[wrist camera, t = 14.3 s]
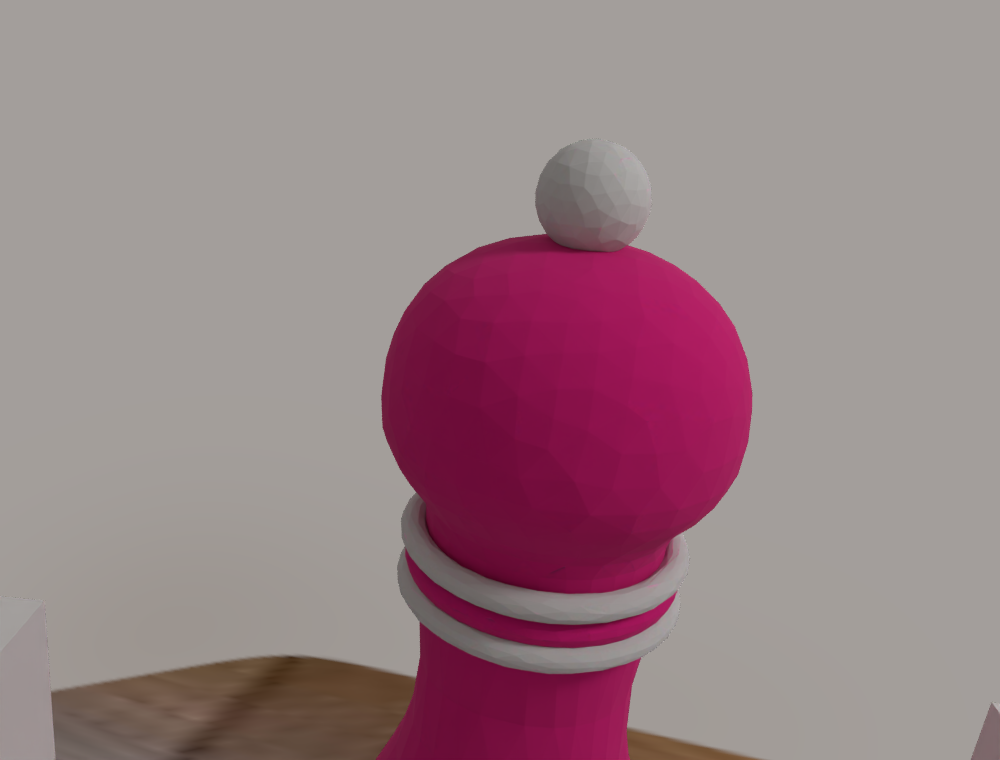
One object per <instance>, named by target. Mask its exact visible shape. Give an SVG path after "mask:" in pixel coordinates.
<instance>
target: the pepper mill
mask: <svg viewBox="0 0 1000 760" xmlns="http://www.w3.org/2000/svg"><path fill="white" fill-rule="evenodd" d="M651 192H652V189H651V185H650V182H649V178H648V175H647V172H646V171H645V169H644V167H643V166H642V164H641V163H640V161H639V159H638V158H637V157H636V156H635V155H634V154H633V153H632V152H631V151H629V150H628V149H626V148H625V147H623V146H622V145H619V144H617V143H614V142H611V141H606V140H602V139H587V140H581V141H578V142H575V143H573V144H570V145H569V146H566V147H565V148H563V149H561V150H560V151H559V152H558V153H557V154H556V155H555V156H554V157H553V158H552V159H550V160H549V162H548V163H547V165H546V166H545V168H544V170H543V171H542V173H541V175H540V178H539V182H538V185H537V189H536V201H535V203H536V209H537V214H538V218H539V221H540V223H541V225H542V226H543V228H544V230H545V232H546V234H542V235H533V236H524V237H515V238H509V239H505V240H502V241H499V242H495V243H492V244H488V245H485V246H482V247H479V248H477V249H475V250H473V251H471V252H470V253H468V254H466V255H464V256H462V257H461V258H459V259H457V260H455V261H454V262H452V263H450V264H448V265H446V266H445V267H444V268H443V269H441V271H439V272H438V273H437V274H436V275H435V276H433V277H432V278H431V279H430V280H429V281H428V282H427V283H425V284H424V286H423V287H422V288H421V290H420V291H419V292H418V294H417V295H416V296H415V298H414V299H413V301H412V302H411V303H410V305H409V306H408V307H407V309H406V310H405V312H404V314H403V316H402V318H401V320H400V322H399V324H398V326H397V328H396V330H395V332H394V335H393V338H392V341H391V345H390V348H389V351H388V354H387V357H386V364H385V372H384V380H383V387H382V399H381V400H382V421H383V422H382V423H383V430H384V432H385V436H386V439H387V442H388V444H389V446H390V449H391V451H392V453H393V455H394V457H395V460H396V461H397V464H398V466H399V468H400V470H401V471H402V473H403V474H404V476H405V477H406V479H407V480H408V482H409V483H410V485H411V486H412V487H413V488H414V490H415V491H416V493H415V495H413V497H412V498H411V499H410V500H409V502H408V504H407V506H406V508H405V510H404V511H403V515H402V518H401V527H402V539H403V542H404V544H405V547H404V549H403V550H402V552H401V555H400V559H399V562H398V567H397V570H398V583H399V587H400V592H401V595H402V596H403V598H404V599H405V601H406V603H407V605H408V606H409V608H410V609H411V610H412V612H413V613H414V614H415V616H416V617H417V619H418V620H419V621H420V660H419V666H418V671H417V677H416V682H415V688H414V694H413V696H412V699H411V701H410V704H409V706H408V709H407V711H406V714H405V716H404V718H403V719H402V721H401V722H400V724H399V726H398V727H397V729H396V731H395V732H394V734H393V735H392V737H391V738H390V740H389V741H388V742H387V744H386V745H385V747H384V748H383V750H382V751H381V753H380V754H379V755H378V757H377V758H376V760H630V758H629V754H628V744H627V732H626V729H627V721H628V713H629V705H630V697H631V688H632V683H633V680H634V677H635V674H636V671H637V668H638V665H639V662H640V659H641V657H643V656H644V655H646V654H648V653H649V652H651V651H652V650H654V649H655V648H657V646H659V645H660V644H661V643H662V642H663V641H664V640H665V639H666V638H667V637H668V636H669V634H670V633H671V631H672V630H673V628H674V626H675V624H676V622H677V619H678V616H679V610H680V595H679V592H678V589H679V588H680V586H681V584H682V582H683V581H684V579H685V577H686V576H687V572H688V567H689V561H690V558H689V550H688V547H687V544H686V541H685V539H684V536H683V534H682V532H684V531H685V530H687V529H689V528H691V527H692V526H694V525H695V524H697V523H698V522H699V521H700V520H701V519H702V518H703V517H704V516H706V515H707V514H708V513H709V512H710V511H711V510H712V509H714V508H715V506H716V505H717V504H718V502H719V501H720V500H721V498H722V497H723V496H724V495H725V493H726V492H727V491H728V489H729V488H730V486H731V485H732V483H733V481H734V480H735V478H736V477H737V475H738V473H739V470H740V466H741V463H742V459H743V457H744V453H745V450H746V447H747V444H748V438H749V430H750V422H751V414H752V388H751V382H750V375H749V369H748V363H747V358H746V355H745V352H744V350H743V347H742V344H741V342H740V339H739V336H738V334H737V331H736V329H735V326H734V325H733V324H732V322H731V320H730V319H729V317H728V316H727V314H726V313H725V311H724V310H723V308H722V307H721V306H720V304H719V303H718V302H717V301H716V300H715V299H714V298H713V297H712V296H711V295H710V294H709V293H708V292H707V291H706V290H705V289H704V288H703V287H702V286H701V285H700V284H699V283H698V282H697V281H696V280H695V279H693V278H692V277H690V276H689V275H688V274H686V273H685V272H683V271H682V270H680V269H679V268H678V267H676V266H675V265H673V264H671V263H669V262H667V261H665V260H663V259H661V258H659V257H657V256H655V255H653V254H651V253H649V252H646V251H644V250H641V249H637V248H634V247H631V246H628V244H630V243H631V242H632V241H633V240H634V239H635V238H636V237H637V236H638V235H639V233H640V231H641V230H642V229H643V227H644V225H645V223H646V221H647V219H648V217H649V215H650V210H651V198H652V197H651V196H652V194H651Z"/></svg>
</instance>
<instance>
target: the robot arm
mask: <svg viewBox="0 0 1000 760" xmlns="http://www.w3.org/2000/svg"><path fill="white" fill-rule="evenodd" d="M0 760H55V745H54V730H53V716H52V701H51V687H50V672H49V658H48V644H47V629H46V613H45V601H44V600H35V599H25V598H16V597H6V596H0ZM971 760H1000V703H995V702H992V703H991V706H990V708H989V711H988V714H987V717H986V719H985V722H984V725H983V728H982V730H981V733H980V736H979V739H978V741H977V744H976V747H975V750H974V752H973V755H972V758H971Z"/></svg>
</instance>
